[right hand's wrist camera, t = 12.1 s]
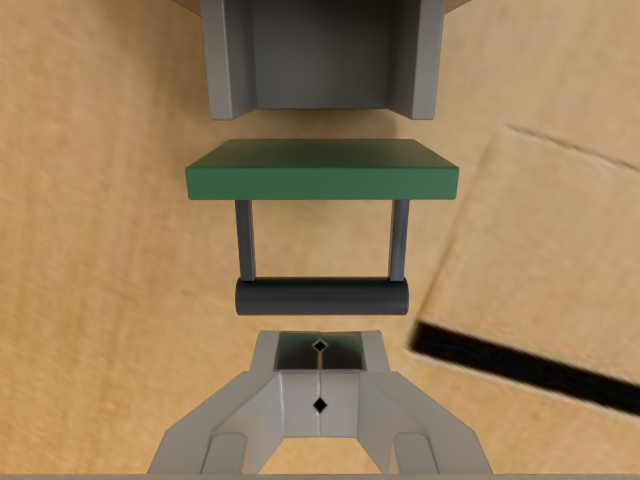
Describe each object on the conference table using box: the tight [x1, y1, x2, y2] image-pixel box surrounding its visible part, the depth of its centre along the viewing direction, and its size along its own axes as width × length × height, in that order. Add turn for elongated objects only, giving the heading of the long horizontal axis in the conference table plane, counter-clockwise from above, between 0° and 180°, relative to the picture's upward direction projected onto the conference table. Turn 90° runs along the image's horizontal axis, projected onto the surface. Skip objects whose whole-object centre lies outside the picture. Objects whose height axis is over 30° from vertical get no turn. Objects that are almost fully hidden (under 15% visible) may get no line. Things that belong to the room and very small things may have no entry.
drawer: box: [185, 0, 459, 315], centre depth 18 cm, size 18×10×8 cm, turn 0°
